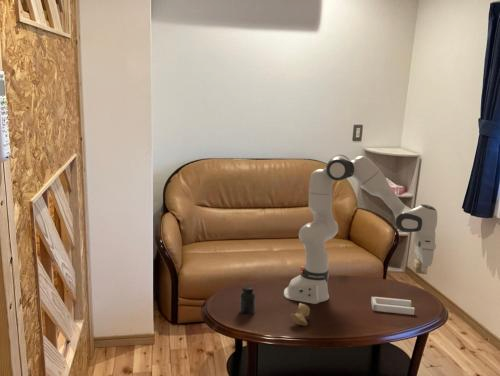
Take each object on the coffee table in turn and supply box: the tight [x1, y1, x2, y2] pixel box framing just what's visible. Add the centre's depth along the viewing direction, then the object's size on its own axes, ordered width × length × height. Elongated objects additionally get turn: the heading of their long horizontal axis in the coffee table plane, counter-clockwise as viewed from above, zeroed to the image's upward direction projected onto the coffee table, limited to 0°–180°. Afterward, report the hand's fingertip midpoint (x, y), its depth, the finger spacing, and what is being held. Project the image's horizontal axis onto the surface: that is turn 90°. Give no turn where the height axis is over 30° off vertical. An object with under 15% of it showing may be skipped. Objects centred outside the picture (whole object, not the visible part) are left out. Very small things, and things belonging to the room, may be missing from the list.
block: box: [413, 258, 429, 275], centre depth 213 cm, size 5×5×5 cm
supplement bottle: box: [239, 284, 256, 316], centre depth 208 cm, size 7×7×12 cm
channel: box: [370, 295, 416, 316], centre depth 219 cm, size 18×10×3 cm, turn 81°
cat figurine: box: [289, 302, 311, 327], centre depth 202 cm, size 8×7×12 cm
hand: (421, 268), depth 213 cm, fingers closed on block, 5 cm apart
